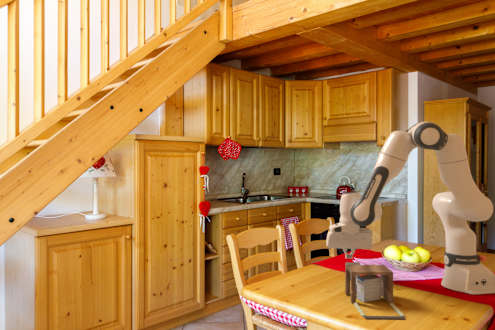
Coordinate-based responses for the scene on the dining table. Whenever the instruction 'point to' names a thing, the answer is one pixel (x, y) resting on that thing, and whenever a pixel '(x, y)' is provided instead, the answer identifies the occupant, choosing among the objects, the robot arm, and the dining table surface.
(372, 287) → the medicine box
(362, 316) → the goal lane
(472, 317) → the dining table surface
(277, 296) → the dining table surface
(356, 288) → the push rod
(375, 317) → the dark grey bar
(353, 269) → the tunnel
